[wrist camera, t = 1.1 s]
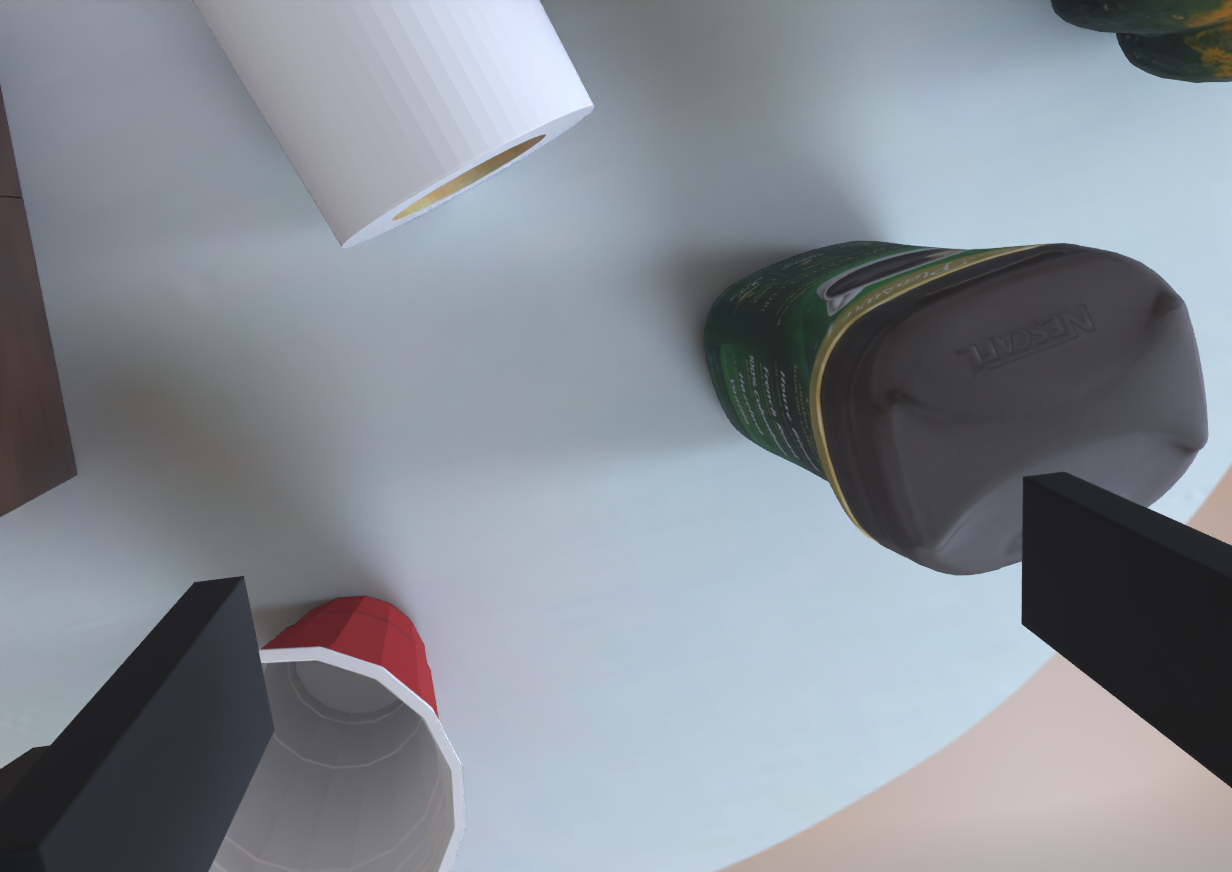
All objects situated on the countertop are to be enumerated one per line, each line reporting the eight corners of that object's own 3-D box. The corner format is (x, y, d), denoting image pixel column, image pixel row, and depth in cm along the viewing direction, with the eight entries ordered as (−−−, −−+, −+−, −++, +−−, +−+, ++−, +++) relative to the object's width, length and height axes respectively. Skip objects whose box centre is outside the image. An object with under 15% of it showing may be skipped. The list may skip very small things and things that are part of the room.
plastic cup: (376, 485, 39) (320, 588, 28) (527, 670, 42) (534, 836, 30) (172, 632, 40) (31, 795, 28) (334, 806, 42) (267, 1024, 30)
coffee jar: (735, 464, 41) (915, 644, 23) (679, 295, 39) (827, 344, 21) (937, 389, 41) (1272, 507, 23) (891, 217, 39) (1216, 200, 21)
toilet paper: (222, 7, 35) (111, -82, 25) (453, -122, 35) (433, -262, 25) (365, 246, 37) (315, 249, 27) (582, 125, 37) (608, 85, 27)
